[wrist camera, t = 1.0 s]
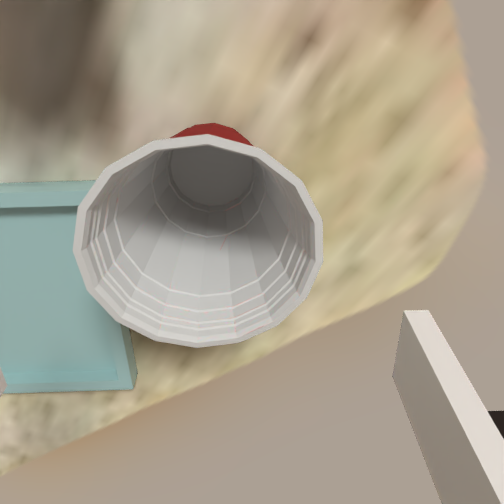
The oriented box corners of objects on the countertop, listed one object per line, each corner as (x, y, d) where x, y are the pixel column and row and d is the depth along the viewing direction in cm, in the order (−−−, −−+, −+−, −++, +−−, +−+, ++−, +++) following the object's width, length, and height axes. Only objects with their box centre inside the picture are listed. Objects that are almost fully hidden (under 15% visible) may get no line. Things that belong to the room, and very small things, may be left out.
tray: (-67, 379, 38) (-80, 396, 37) (-160, 187, 30) (-182, 198, 29) (137, 373, 39) (133, 389, 37) (101, 180, 30) (93, 190, 29)
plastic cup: (208, 269, 34) (194, 391, 23) (95, 159, 30) (16, 248, 19) (329, 179, 31) (376, 273, 20) (222, 42, 26) (211, 71, 16)
